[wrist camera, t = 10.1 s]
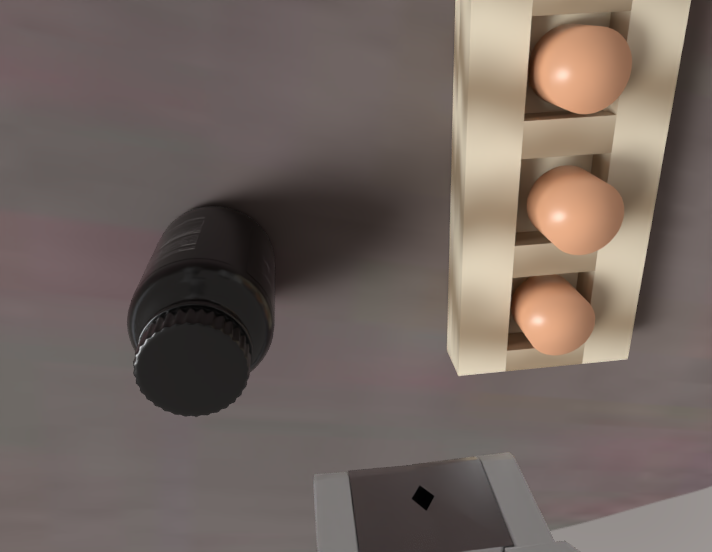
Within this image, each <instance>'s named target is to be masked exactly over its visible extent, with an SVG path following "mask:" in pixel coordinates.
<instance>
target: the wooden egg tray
mask: <svg viewBox="0 0 712 552" xmlns="http://www.w3.org/2000/svg"><path fill="white" fill-rule="evenodd" d="M690 3H691V0H455V39H454V81H453V122H452V164H451V206H450V247H449V289H448V331H447V351H448V353H449V356H450V358H451V360H452V362H453V365H454V367H455V369H456V371H457V373H458V376H462V375H472V374H482V373H492V372H502V371H513V370H523V369H533V368H543V367H553V366H564V365H574V364H584V363H594V362H604V361H615V360H625V359H628V354H629V348H630V343H631V337H632V331H633V326H634V320H635V314H636V309H637V303H638V297H639V292H640V286H641V280H642V275H643V269H644V263H645V258H646V252H647V246H648V241H649V235H650V229H651V224H652V218H653V212H654V207H655V201H656V196H657V190H658V184H659V179H660V173H661V167H662V162H663V156H664V150H665V145H666V139H667V133H668V128H669V122H670V116H671V111H672V105H673V99H674V94H675V88H676V82H677V77H678V71H679V65H680V60H681V54H682V48H683V43H684V37H685V31H686V26H687V20H688V14H689V9H690ZM563 24H583V25H593V26H603V27H608V28H611V29H613V30H615V31H617V32H618V33H620V34H621V35H622V36H623V37H624V38H625V40H626V41H627V43H628V45H629V47H630V51H631V55H632V70H631V75H630V78H629V81H628V83H627V85H626V87H625V89H624V91H623V92H622V93H621V95H620V96H619V97H618V98H617V99H616V100H615V101H614V102H613V103H612V104H611V105H609V106H608V107H606V108H605V109H603V110H601V111H598V112H595V113H591V114H577V113H573V112H571V111H568V110H566V109H563V108H561V107H558V106H556V105H553V104H551V103H548V102H546V101H544V100H542V99H541V98H540V97H539V96H538V95H537V94H536V93H535V92H534V90H533V89H532V87H531V84H530V82H529V78H528V64H529V59H530V56H531V53H532V51H533V49H534V47H535V45H536V44H537V42H538V41H539V40H540V38H541V37H542V36H543V35H544V34H546V33H547V32H548V31H550V30H551V29H553V28H555V27H557V26H560V25H563ZM564 165H572V166H577V167H580V168H582V169H584V170H586V171H587V172H589V173H591V174H593V175H594V176H596V177H598V178H599V179H601V180H603V181H605V182H606V183H608V184H610V185H611V186H613V187H614V188H615V189H616V190H617V191H618V192H619V193H620V195H621V197H622V200H623V203H624V218H623V222H622V225H621V227H620V229H619V231H618V232H617V234H616V235H615V237H614V238H613V239H612V240H611V241H610V242H609V243H608V244H607V245H606V246H604V247H603V248H601V249H599V250H597V251H595V252H593V253H590V254H586V255H571V254H567V253H565V252H563V251H561V250H560V249H558V248H557V247H556V246H555V245H554V244H553V243H552V242H551V241H550V240H548V239H547V238H546V237H545V236H544V235H543V234H542V233H541V232H540V231H539V230H538V229H537V228H536V227H535V226H534V225H533V224H532V223H531V221H530V219H529V217H528V214H527V198H528V195H529V192H530V190H531V188H532V186H533V185H534V183H535V182H536V181H537V180H538V178H539V177H541V176H542V175H543V174H544V173H546V172H547V171H549V170H551V169H553V168H555V167H559V166H564ZM552 274H557V275H560V276H562V277H563V278H565V279H566V280H567V281H568V282H569V283H570V284H571V285H572V286H573V287H574V288H575V289H576V290H577V291H578V292H579V293H580V294H581V295H582V296H583V297H584V298H585V299H586V300H587V301H588V302H589V304H590V305H591V306H592V308H593V310H594V313H595V326H594V329H593V331H592V333H591V335H590V337H589V338H588V339H587V341H586V342H585V343H584V344H583V345H581V346H580V347H579V348H577V349H576V350H574V351H572V352H570V353H567V354H563V355H555V356H554V355H546V354H543V353H541V352H539V351H538V350H536V349H535V348H534V347H533V346H532V344H531V343H530V341H529V340H528V338H527V337H526V336H525V334H524V333H523V331H522V330H521V328H520V327H519V326H518V324H517V323H516V321H515V320H514V318H513V316H512V314H511V309H510V305H511V300H512V297H513V294H514V292H515V291H516V289H517V288H518V287H519V286H520V285H521V284H522V283H523V282H524V281H525V280H527V279H528V278H530V277H532V276H541V275H552Z"/></svg>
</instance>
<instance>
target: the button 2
mask: <svg viewBox="0 0 712 552" xmlns="http://www.w3.org/2000/svg"><path fill="white" fill-rule="evenodd" d="M631 70H632V55H631V51H630V47H629V45H628V43H627V41H626V40H625V38H624V37H623V36H622V35H621V34H620V33H618V32H617V31H615V30H613V29H611V28H608V27H603V26H593V25H583V24H563V25H560V26H557V27H555V28H553V29H551V30H550V31H548V32H547V33H546V34H544V35H543V36H542V37H541V38H540V40H539V41H538V42H537V44H536V45H535V47H534V49H533V51H532V53H531V56H530V59H529V64H528V78H529V82H530V84H531V87H532V89H533V90H534V92H535V93H536V94H537V95H538V96H539V97H540V98H541V99H542V100H544V101H546V102H548V103H551V104H553V105H556V106H558V107H561V108H563V109H566V110H568V111H571V112H573V113H577V114H591V113H595V112H598V111H601V110H603V109H605V108H606V107H608V106H609V105H611V104H612V103H613V102H614V101H615V100H616V99H617V98H618V97H619V96H620V95H621V93H622V92H623V91H624V89H625V87H626V85H627V83H628V81H629V78H630V75H631Z"/></svg>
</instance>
